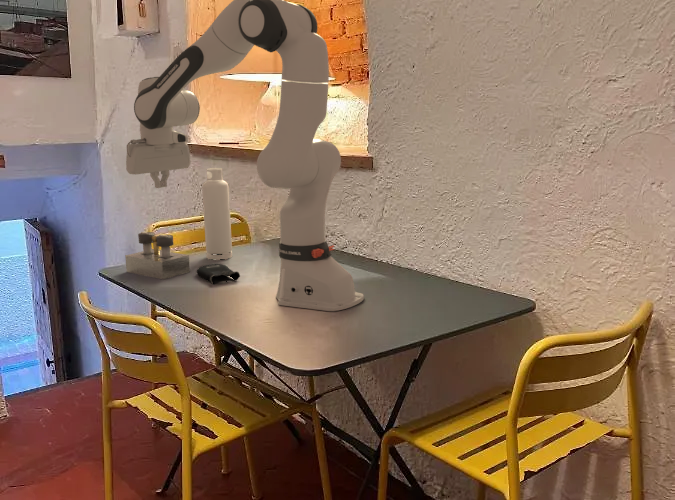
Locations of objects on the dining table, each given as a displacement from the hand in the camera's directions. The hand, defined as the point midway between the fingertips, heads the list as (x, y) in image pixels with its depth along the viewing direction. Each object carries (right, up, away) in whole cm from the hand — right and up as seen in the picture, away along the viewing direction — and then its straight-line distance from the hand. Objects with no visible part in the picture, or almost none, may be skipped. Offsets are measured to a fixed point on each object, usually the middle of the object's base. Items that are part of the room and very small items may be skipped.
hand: (161, 187), depth 194 cm
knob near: (0, -21, +5) cm, 21 cm away
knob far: (-6, -20, +9) cm, 23 cm away
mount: (-3, -24, +8) cm, 25 cm away
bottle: (+12, -20, +25) cm, 34 cm away
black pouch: (+15, -26, +1) cm, 30 cm away
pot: (-3, -19, +7) cm, 20 cm away
